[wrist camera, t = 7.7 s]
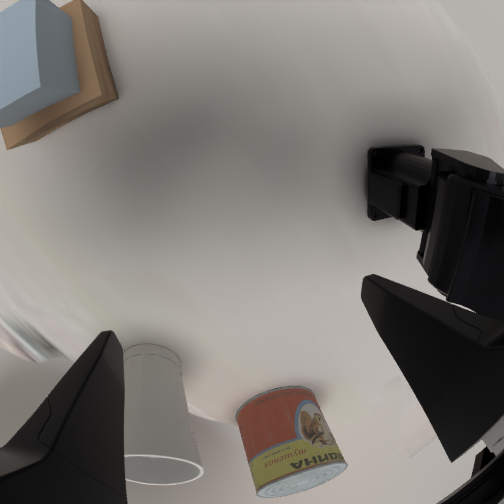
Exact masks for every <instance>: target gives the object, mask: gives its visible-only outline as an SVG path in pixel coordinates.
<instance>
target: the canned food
mask: <svg viewBox="0 0 504 504" xmlns="http://www.w3.org/2000/svg"><path fill="white" fill-rule="evenodd" d="M236 420H237V423H238V425H239V429H240V433H241V437H242V441H243V444H244V449H245V452H246V456H247V460H248V463H249V467H250V470H251V474H252V478H253V481H254V484H255V488H256V491H257V492H256V494H257V496H259V497H262V498H273V497H281V496H287V495H291V494H295V493H299V492H302V491H305V490H308V489H311V488H314V487H316V486H318V485H321V484H323V483H325V482H327V481H329V480H331V479H333V478H334V477H336V476H338V475H339V474H340V473H342V472H343V471H344V470H345V469H346V468H347V466H348V464H347V463H346V462H345V460H344V458H343V456H342V454H341V452H340V450H339V447H338V445H337V443H336V441H335V439H334V437H333V435H332V433H331V431H330V428H329V426H328V424H327V422H326V420H325V418H324V416H323V414H322V412H321V410H320V407H319V405H318V403H317V401H316V399H315V395H314V393H313V392H312V391H311V390H310V389H308V388H305V387H300V386H288V387H281V388H277V389H273V390H269V391H267V392H264V393H261V394H259V395H257V396H255V397H253V398H252V399H250V400H248V401H247V402H246V403H244V404H243V405H242V406H241V407H240V409H239V410H238V412H237V414H236Z"/></svg>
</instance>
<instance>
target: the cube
mask: <svg viewBox="0 0 504 504" xmlns="http://www.w3.org/2000/svg"><path fill="white" fill-rule="evenodd" d="M80 92H81V91H80V85H79V79H78V72H77V65H76V57H75V48H74V38H73V26H72V18H71V17H70V16H69V15H67V14H66V13H65V12H64V11H62V10H61V9H60V8H58V7H57V6H56V5H54V4H53V3H52V2H50V1H49V0H20V1H18V2H16V3H15V4H13V5H12V6H10V7H8V8H7V9H5V10H4V11H2V12H1V13H0V128H3V127H9V126H12V125H14V124H16V123H18V122H19V121H21V120H23V119H25V118H27V117H29V116H30V115H32V114H34V113H36V112H38V111H40V110H42V109H44V108H46V107H48V106H50V105H52V104H55V103H57V102H59V101H61V100H63V99H66V98H68V97H70V96H73V95H75V94H77V93H80Z"/></svg>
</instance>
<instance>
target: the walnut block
mask: <svg viewBox="0 0 504 504" xmlns="http://www.w3.org/2000/svg"><path fill="white" fill-rule="evenodd" d="M60 9H61V10H62V11H64V12H65V13H66V14H67V15H69V16H70V17H71V18H72V26H73V38H74V48H75V57H76V65H77V72H78V79H79V85H80V91H81V92H80V93H77V94H75V95H73V96H70V97H68V98H66V99H63V100H61V101H59V102H57V103H55V104H52V105H50V106H48V107H46V108H44V109H42V110H40V111H38V112H36V113H34V114H32V115H30V116H29V117H27V118H25V119H23V120H21V121H19V122H18V123H16V124H14V125H12V126H9V127H3V128H1V131H2V135H3V138H4V142H5V145H6V148H7V150H9V149H12V148H15V147H18V146H21V145H24V144H28V143H31V142H34V141H37V140H39V139H40V138H42V137H44V136H45V135H47V134H49V133H50V132H52V131H54V130H56V129H57V128H59V127H61V126H63V125H65V124H66V123H68V122H70V121H72V120H74V119H76V118H78V117H80V116H82V115H84V114H86V113H88V112H90V111H92V110H94V109H96V108H98V107H100V106H102V105H105V104H107V103H109V102H111V101H114V100H116V99H118V95H117V91H116V88H115V84H114V81H113V77H112V73H111V70H110V66H109V62H108V58H107V54H106V50H105V46H104V42H103V38H102V34H101V29H100V25H99V20H98V16H97V15H96V14H95V13H94V12H93V11H92V10H91V9H90V8H89V7H88V6H87V5H86V4H85V3H84V1H83V0H73V1H71V2H69V3H67V4H66V5H64V6H62V7H60Z"/></svg>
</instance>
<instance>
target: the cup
mask: <svg viewBox="0 0 504 504" xmlns="http://www.w3.org/2000/svg"><path fill="white" fill-rule="evenodd" d="M123 360H124V380H125V405H124V459H125V480H128V481H132V482H136V483H142V484H150V485H174V484H181V483H186V482H190V481H193V480H195V479H197V478H199V477H200V476H202V474H203V472H204V469H203V466H202V462H201V459H200V455H199V451H198V448H197V444H196V440H195V437H194V434H193V430H192V426H191V421H190V416H189V412H188V407H187V402H186V397H185V391H184V386H183V381H182V370H181V362H180V360H179V358H178V357H177V355H176V354H175V353H173V352H172V351H171V350H169V349H167V348H165V347H162V346H159V345H153V344H140V345H136V346H133V347H131V348H129V349H127V350H126V351H125V352H124V353H123Z"/></svg>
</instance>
